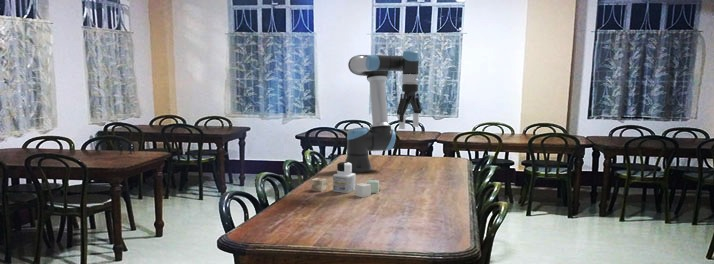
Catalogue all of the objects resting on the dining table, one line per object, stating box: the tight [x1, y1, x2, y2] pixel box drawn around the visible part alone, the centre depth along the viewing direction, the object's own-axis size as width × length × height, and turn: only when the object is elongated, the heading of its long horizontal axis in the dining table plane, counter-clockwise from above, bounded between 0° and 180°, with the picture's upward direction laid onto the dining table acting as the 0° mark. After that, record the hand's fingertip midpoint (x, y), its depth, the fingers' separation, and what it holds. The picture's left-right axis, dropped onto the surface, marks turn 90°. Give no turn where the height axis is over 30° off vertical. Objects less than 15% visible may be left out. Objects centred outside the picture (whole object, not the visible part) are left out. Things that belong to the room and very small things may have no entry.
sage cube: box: [366, 179, 380, 194], centre depth 236 cm, size 5×5×5 cm
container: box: [332, 161, 357, 194], centre depth 237 cm, size 8×8×13 cm
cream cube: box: [354, 182, 372, 198], centre depth 229 cm, size 5×5×5 cm
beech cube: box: [311, 177, 327, 192], centre depth 239 cm, size 5×5×5 cm
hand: (409, 127), depth 253 cm, fingers open, 13 cm apart
